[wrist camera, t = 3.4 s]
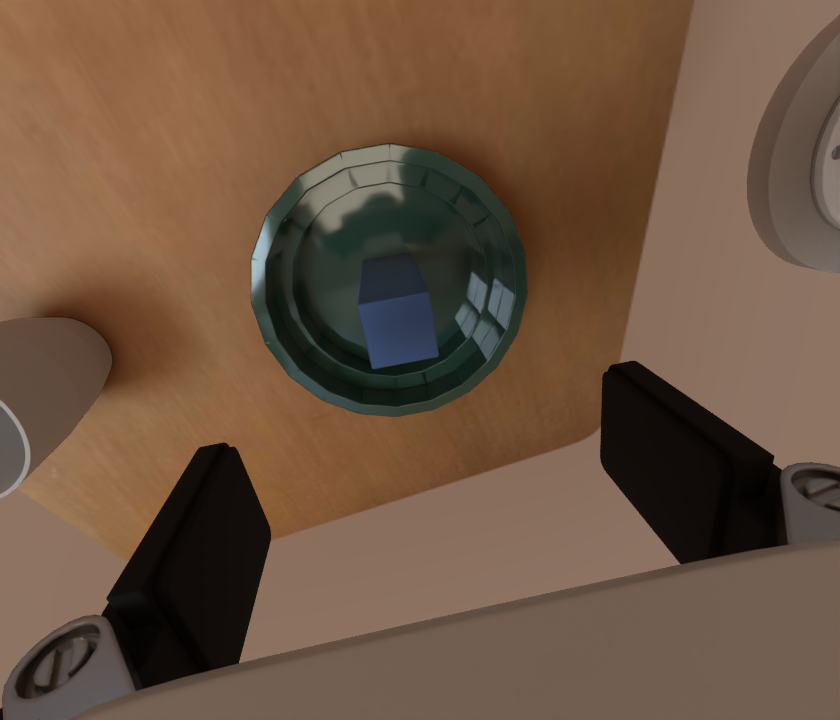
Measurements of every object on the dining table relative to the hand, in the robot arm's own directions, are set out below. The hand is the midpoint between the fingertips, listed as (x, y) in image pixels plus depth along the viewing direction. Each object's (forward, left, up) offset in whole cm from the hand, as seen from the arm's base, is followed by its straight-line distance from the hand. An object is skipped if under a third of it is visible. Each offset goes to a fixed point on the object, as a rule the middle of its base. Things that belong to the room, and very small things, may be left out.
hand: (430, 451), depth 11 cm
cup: (+22, +1, -20) cm, 30 cm away
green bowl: (0, 0, -20) cm, 20 cm away
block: (0, 0, -19) cm, 19 cm away
